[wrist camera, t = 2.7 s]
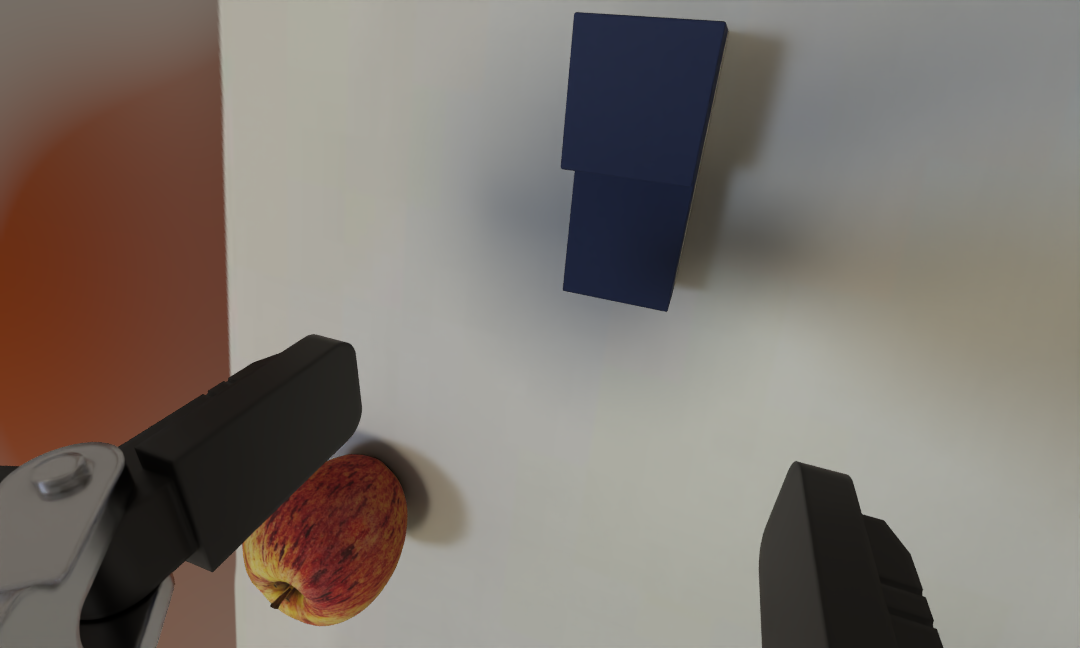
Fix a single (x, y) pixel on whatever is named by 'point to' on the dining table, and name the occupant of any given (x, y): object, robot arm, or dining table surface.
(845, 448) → the dining table surface
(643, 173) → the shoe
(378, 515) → the apple
